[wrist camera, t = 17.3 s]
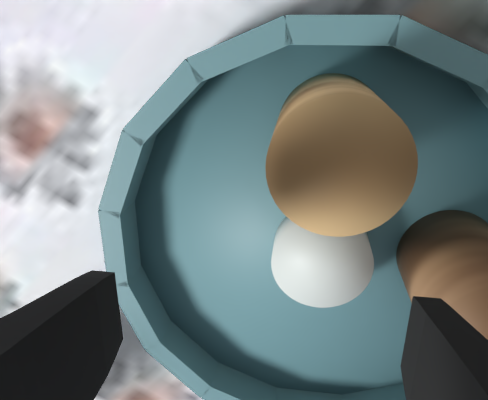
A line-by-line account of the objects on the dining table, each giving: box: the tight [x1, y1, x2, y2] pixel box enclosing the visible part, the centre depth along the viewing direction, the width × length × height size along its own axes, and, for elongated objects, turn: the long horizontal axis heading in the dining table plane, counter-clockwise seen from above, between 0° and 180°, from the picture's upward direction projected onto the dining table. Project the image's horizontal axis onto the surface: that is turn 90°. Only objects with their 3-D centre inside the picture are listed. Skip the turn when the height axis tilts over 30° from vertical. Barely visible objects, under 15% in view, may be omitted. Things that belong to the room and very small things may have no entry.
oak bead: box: [265, 73, 418, 237], centre depth 15 cm, size 4×4×6 cm
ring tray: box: [98, 15, 488, 400], centre depth 20 cm, size 20×20×2 cm
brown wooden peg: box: [396, 210, 488, 340], centre depth 17 cm, size 4×4×6 cm
